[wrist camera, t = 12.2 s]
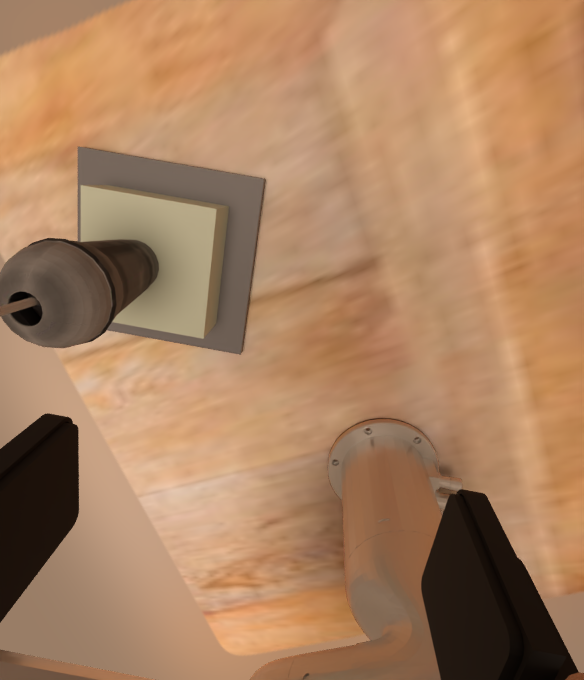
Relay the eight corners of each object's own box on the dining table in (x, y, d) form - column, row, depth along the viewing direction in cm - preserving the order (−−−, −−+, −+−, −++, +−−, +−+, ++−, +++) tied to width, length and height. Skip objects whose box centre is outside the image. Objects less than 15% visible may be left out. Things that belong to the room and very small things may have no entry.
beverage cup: (79, 261, 41) (-135, 327, 22) (130, 205, 39) (-60, 224, 20) (138, 319, 42) (-16, 426, 23) (190, 267, 40) (66, 340, 21)
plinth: (265, 179, 43) (255, 178, 37) (242, 351, 49) (230, 373, 43) (83, 147, 43) (46, 141, 38) (82, 322, 49) (50, 339, 44)
